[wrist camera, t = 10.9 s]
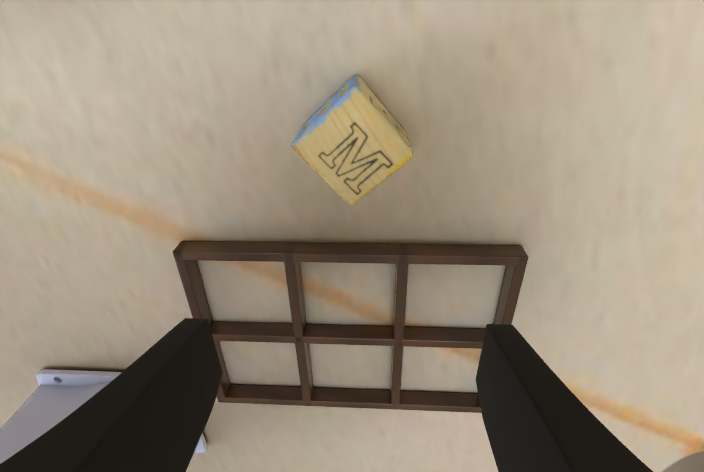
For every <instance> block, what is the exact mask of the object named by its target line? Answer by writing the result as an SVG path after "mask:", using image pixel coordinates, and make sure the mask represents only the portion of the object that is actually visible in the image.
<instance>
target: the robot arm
mask: <svg viewBox="0 0 704 472" xmlns="http://www.w3.org/2000/svg"><path fill="white" fill-rule="evenodd" d="M222 374H223V371H222V367H221V364H220V360H219V357H218V353H217V350H216V346H215V343H214V339H213V336H212V333H211V329H210V326H209V322H208V319H193V318H185V319H184V320H183V321H181V322H180V323H179V324H178V325H177V326H175V327H174V328H173V329H172V330H171V331H169V332H168V333H167V334H166V335H165V336H164V337H163V338H161V339H160V340H159V341H158V342H157V343H156V344H155V345H153V346H152V347H151V348H150V349H149V350H148V351H146V352H145V353H144V354H143V355H142V356H141V357H140V358H138V359H137V360H136V361H135V362H134V363H132V364H131V365H130V366H129V367H128V368H127V369H125V370H124V371H123V372H105V371H77V370H50V369H43V370H40V371H39V372H38V373H37V374H36V375H35V377H36V380H37V381H38V383H39V384H40V386H39V387H38V388H37V389H36V390H35V391H34V392H33V393H32V395H31V396H30V397H29V398H28V399H27V400H26V401H25V402H24V403H23V405H22V406H21V407H20V408H19V409H18V410H17V411H16V412H15V413H14V415H13V416H12V417H11V418H10V419H9V420H8V421H7V422H6V423H5V425H4V426H3V427H2V428H1V429H0V472H186V469H187V467H188V465H189V463H190V460H191V458H192V456H193V453H199V454H201V453H204V452H205V451H206V449H207V443H206V440H205V438H204V435H203V430H204V428H205V425H206V423H207V421H208V418H209V416H210V413H211V411H212V408H213V405H214V402H215V398H216V395H217V392H218V388H219V385H220V381H221V378H222ZM476 383H477V389H478V395H479V400H480V406H481V411H482V416H483V421H484V424H485V428H486V431H487V434H488V438H489V441H490V445H491V448H492V451H493V455H494V458H495V461H496V465H497V468H498V471H499V472H653V471H652V470H651V469H649V468H648V467H647V466H646V465H645V464H644V463H643V462H641V461H640V460H639V459H638V458H637V457H636V456H635V455H634V454H633V453H632V452H631V451H630V450H629V449H628V448H626V447H625V446H624V445H623V444H622V443H621V442H620V441H619V440H618V439H617V438H616V437H615V436H614V435H613V434H612V433H611V432H610V431H609V430H608V429H607V428H606V427H605V426H604V425H603V424H602V423H601V422H600V421H599V420H598V419H597V418H596V417H595V416H594V415H593V414H592V413H591V412H590V411H589V410H588V409H587V408H586V407H585V406H584V405H583V404H582V403H581V402H580V400H579V399H578V398H577V397H576V396H575V395H574V394H573V393H572V392H571V391H570V390H569V389H568V388H567V387H566V385H565V384H564V383H563V382H562V381H561V380H560V379H559V378H558V377H557V376H556V374H555V373H554V372H553V371H552V370H551V369H550V368H549V367H548V365H547V364H546V363H545V362H544V361H543V360H542V359H541V357H540V356H539V355H538V354H537V353H536V352H535V351H534V349H533V348H532V347H531V346H530V345H529V344H528V342H527V341H526V340H525V339H524V338H523V337H522V335H521V334H520V333H519V332H518V331H517V330H516V328H515V327H514V326H513V325H510V324H487V326H486V331H485V336H484V341H483V346H482V351H481V356H480V361H479V366H478V371H477V376H476Z"/></svg>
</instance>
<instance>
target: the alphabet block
mask: <svg viewBox="0 0 704 472" xmlns="http://www.w3.org/2000/svg"><path fill="white" fill-rule="evenodd" d="M291 146H292V148H293V149H294V150H295V151H296V152H297V153H298V154H299V155H300V156H301V157H302V158H303V159H304V160H305V161H306V162H307V163H308V164H309V165H310V166H311V167H312V168H313V169H314V170H315V171H316V172H317V173H318V174H319V175H320V176H321V177H322V178H323V179H324V180H325V181H326V182H327V183H328V184H329V185H330V186H331V188H332V189H333V190H334V191H336V192H337V193H338V194H339V195H340V197H341V198H342V199H343V200H344V201H345V202H346V203H347V204H349V205H353V204H355V203H356V202H357V201H359V200H360V199H361V198H362V197H363V196H365V195H366V194H367V193H369V192H370V191H371V190H372V189H373V188H374V187H376V186H377V185H378V184H379V183H381V182H382V181H383V180H384V179H385V178H387V177H388V176H389V175H391V174H392V173H393V172H394V171H396V170H397V169H398V168H399V167H400V166H402V165H403V164H404V163H406V162H407V161H408V160H409V159H410V158H411V157H412V156H413V154H412V150H411V147H410V145H409V141H408V138H407V135H406V132H405V131H404V130H403V129H402V127H401V126H400V125H399V124H398V123H397V121H396V120H395V119H394V118H393V117H392V115H391V114H390V113H389V112H388V111H387V110H386V108H385V107H384V106H383V105H382V103H381V102H380V101H379V100H378V99H377V97H376V96H375V95H374V94H373V93H372V91H371V90H370V89H369V88H368V87H367V85H366V84H365V83H364V82H363V80H362V79H361V78H360V76H359V75H357V74H356V75H354V76H353V77H352V78H351V79H350V80H349V81H348V82H346V83H345V84H344V85H343V86H342V87H341V89H339V90H338V91H337V92H336V93H335V94H334V95H333V96H332V97H331V98H330V99H329V100H328V101H327V102H326V103H325V104H324V105H323V106H322V107H321V108H320V109H319V110H318V111H317V112H316V113H315V114H314V115H313V116H312V117H311V118H310V119H308V120H307V121H306V122H305V123H304V124H303V126H302V127H301V129H300V131H299V133H298V134H297V136H296V138H295V139H294V141H293V143H292V144H291Z"/></svg>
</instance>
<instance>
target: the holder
mask: <svg viewBox="0 0 704 472" xmlns="http://www.w3.org/2000/svg"><path fill="white" fill-rule="evenodd" d="M173 254H174V258H175V261H176V264H177V267H178V271H179V274H180V277H181V280H182V284H183V287H184V290H185V294H186V297H187V300H188V303H189V307H190V310H191V313H192V316H193V319H208V322H209V326H210V329H211V333H212V336H213V339H214V343H215V346H216V350H217V353H218V357H219V360H220V364H221V367H222V371H223V374H222V378H221V381H220V385H219V388H218V392H217V398H218V401H219V402H227V403H252V404H277V405H302V406H326V407H351V408H376V409H401V410H425V411H450V412H475V413H482V411H481V406H480V400H479V395H478V394H475V393H448V392H421V391H400V386H401V371H402V355H403V346H415V347H448V348H482V346H483V341H484V336H485V331H486V329H468V328H430V327H404V323H405V308H406V292H407V276H408V264H459V265H507V267H506V272H505V276H504V281H503V285H502V290H501V294H500V299H499V303H498V308H497V312H496V317H495V321H494V324H510V325H511V324H512V320H513V316H514V312H515V308H516V304H517V300H518V296H519V292H520V288H521V284H522V280H523V276H524V272H525V268H526V264H527V260H528V256H527V254H526V252H525V251H524V249H523V247H522V246H513V245H438V244H363V243H292V242H213V241H181V242H180V244H179V245H178V246H177V247H176V248H175V250H174V251H173ZM196 260H217V261H277V262H284V263H285V271H286V278H287V286H288V293H289V300H290V308H291V315H292V323H293V324H281V323H244V322H213V321H212V317H211V313H210V310H209V306H208V302H207V299H206V295H205V291H204V288H203V284H202V280H201V277H200V273H199V269H198V266H197V262H196ZM299 262H338V263H396V280H395V302H394V325H393V326H356V325H318V324H306V318H305V309H304V300H303V291H302V281H301V272H300V263H299ZM218 341H248V342H282V343H295V345H296V353H297V360H298V368H299V375H300V383H301V387H287V386H260V385H233V384H230V383H229V379H228V375H227V372H226V368H225V364H224V361H223V357H222V353H221V350H220V346H219V342H218ZM308 343H315V344H348V345H382V346H393V348H392V370H391V390H368V389H341V388H314V387H313V381H312V372H311V363H310V354H309V345H308Z"/></svg>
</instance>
